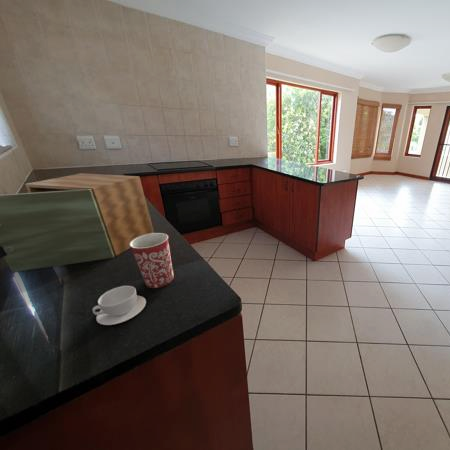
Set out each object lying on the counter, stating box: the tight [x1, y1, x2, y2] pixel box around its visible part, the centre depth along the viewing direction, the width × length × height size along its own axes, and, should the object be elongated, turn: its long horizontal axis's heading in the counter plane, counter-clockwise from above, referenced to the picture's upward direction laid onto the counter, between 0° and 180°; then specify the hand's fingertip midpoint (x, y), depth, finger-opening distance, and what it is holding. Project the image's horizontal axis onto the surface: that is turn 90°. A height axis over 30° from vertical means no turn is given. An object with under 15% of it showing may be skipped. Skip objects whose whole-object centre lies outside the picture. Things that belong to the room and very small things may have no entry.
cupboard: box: [24, 172, 155, 257], centre depth 87 cm, size 18×26×24 cm
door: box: [0, 189, 116, 273], centre depth 70 cm, size 6×26×24 cm, turn 110°
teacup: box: [92, 285, 147, 326], centre depth 57 cm, size 10×10×5 cm
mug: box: [129, 232, 175, 289], centre depth 68 cm, size 13×9×14 cm
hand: (2, 250), depth 61 cm, fingers closed
